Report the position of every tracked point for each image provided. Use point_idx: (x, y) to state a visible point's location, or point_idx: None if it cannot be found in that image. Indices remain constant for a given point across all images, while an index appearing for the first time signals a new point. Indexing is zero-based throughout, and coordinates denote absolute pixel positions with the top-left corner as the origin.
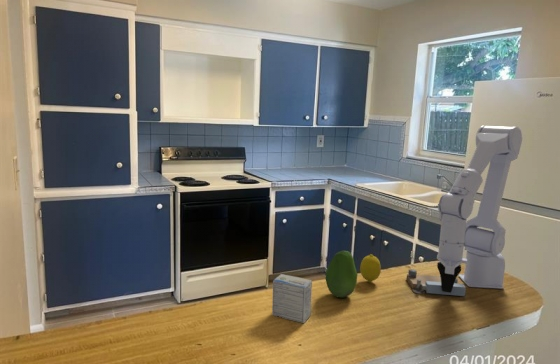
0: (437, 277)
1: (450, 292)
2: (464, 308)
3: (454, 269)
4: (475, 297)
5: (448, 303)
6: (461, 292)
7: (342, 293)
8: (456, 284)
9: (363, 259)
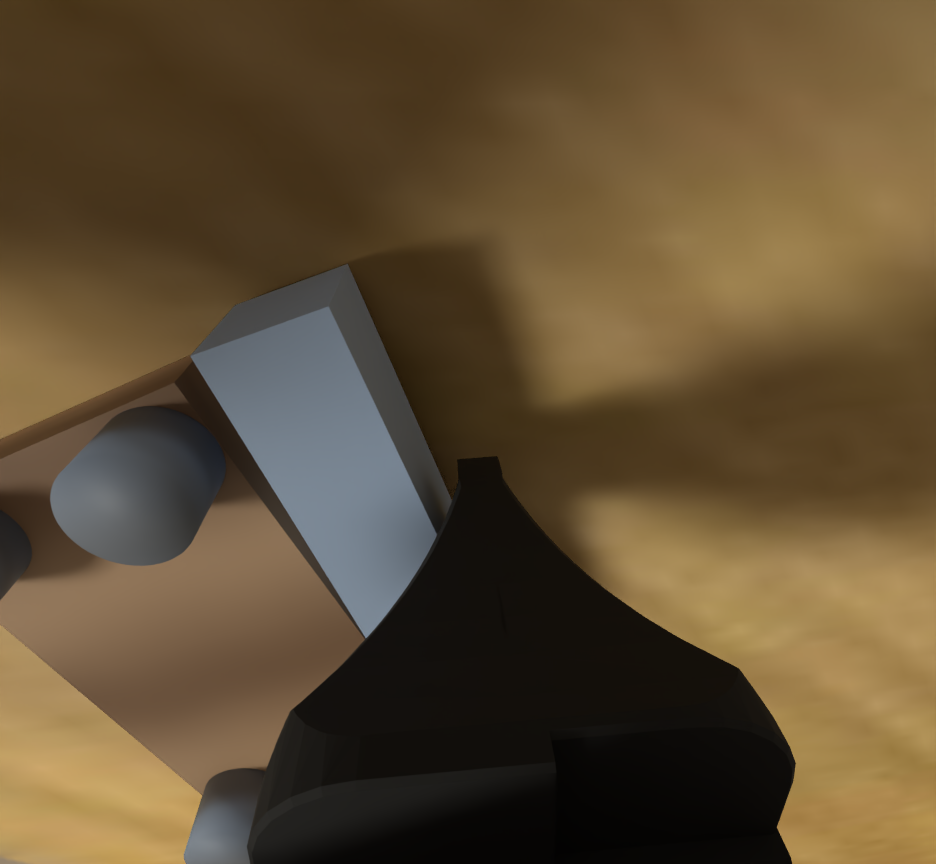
0: (66, 627)
1: (497, 459)
2: (723, 244)
3: (760, 826)
4: (243, 100)
5: (644, 419)
6: (364, 328)
7: None
8: (296, 444)
9: None
